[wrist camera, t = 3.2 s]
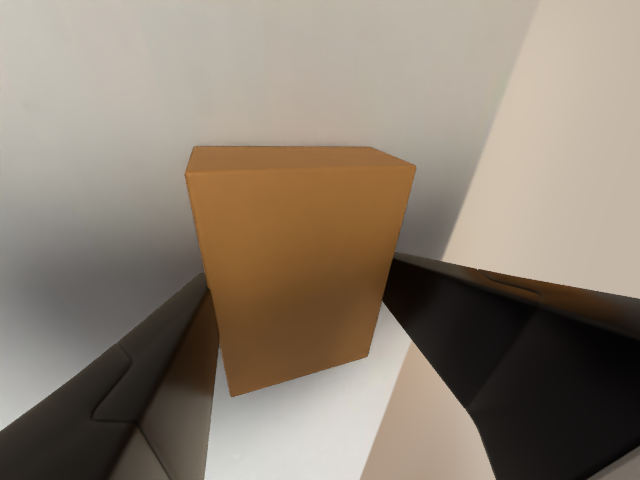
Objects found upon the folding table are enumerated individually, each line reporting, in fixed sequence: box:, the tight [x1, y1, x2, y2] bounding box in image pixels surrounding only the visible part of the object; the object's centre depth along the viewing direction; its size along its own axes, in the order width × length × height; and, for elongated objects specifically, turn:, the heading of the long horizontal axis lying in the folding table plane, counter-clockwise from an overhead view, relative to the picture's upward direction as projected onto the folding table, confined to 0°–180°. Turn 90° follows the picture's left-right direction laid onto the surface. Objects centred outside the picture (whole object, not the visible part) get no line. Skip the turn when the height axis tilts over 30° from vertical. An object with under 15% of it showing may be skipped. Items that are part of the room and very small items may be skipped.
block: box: [185, 146, 416, 397], centre depth 9 cm, size 8×6×2 cm
